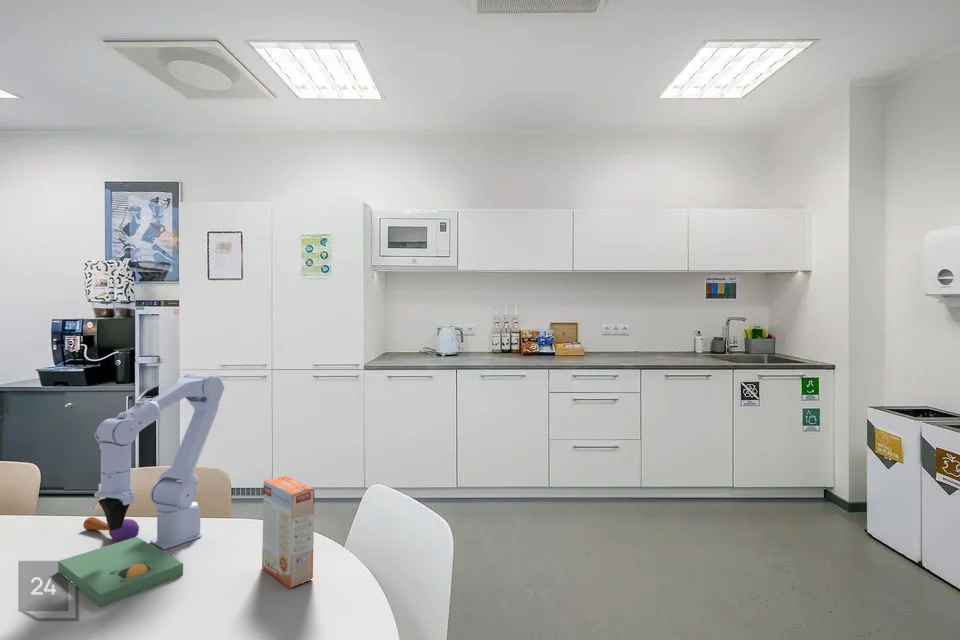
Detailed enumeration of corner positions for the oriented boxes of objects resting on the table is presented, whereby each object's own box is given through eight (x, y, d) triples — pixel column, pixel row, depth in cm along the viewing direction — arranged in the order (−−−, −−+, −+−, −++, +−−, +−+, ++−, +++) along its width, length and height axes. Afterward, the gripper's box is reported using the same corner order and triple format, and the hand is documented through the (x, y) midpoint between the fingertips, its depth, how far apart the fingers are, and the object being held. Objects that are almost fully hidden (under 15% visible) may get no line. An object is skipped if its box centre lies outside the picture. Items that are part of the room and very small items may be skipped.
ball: (144, 565, 115) (149, 559, 113) (145, 583, 113) (151, 577, 111) (123, 569, 112) (129, 563, 110) (124, 588, 110) (130, 583, 108)
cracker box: (314, 580, 114) (316, 487, 114) (289, 590, 110) (290, 494, 110) (285, 559, 124) (286, 474, 123) (261, 568, 119) (262, 479, 119)
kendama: (104, 510, 143) (145, 518, 134) (100, 532, 142) (141, 542, 132) (79, 513, 138) (121, 522, 128) (75, 536, 136) (117, 547, 127)
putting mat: (136, 546, 129) (136, 536, 129) (183, 574, 116) (183, 563, 116) (58, 571, 116) (58, 561, 116) (100, 606, 102) (100, 594, 102)
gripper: (83, 468, 118) (82, 526, 118) (109, 480, 110) (108, 542, 110) (117, 462, 124) (117, 517, 124) (144, 472, 116) (144, 531, 116)
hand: (115, 528), depth 118 cm, fingers closed
